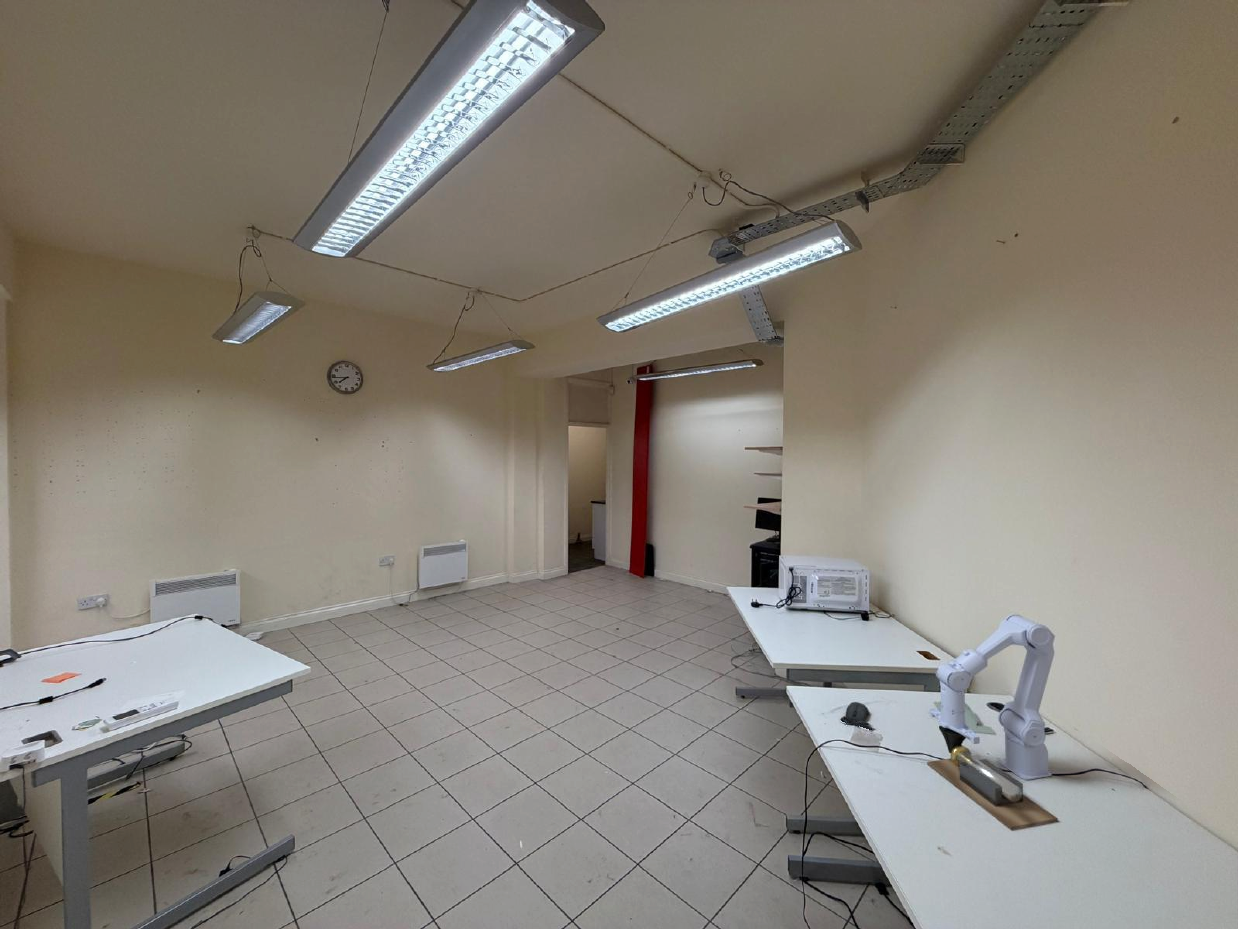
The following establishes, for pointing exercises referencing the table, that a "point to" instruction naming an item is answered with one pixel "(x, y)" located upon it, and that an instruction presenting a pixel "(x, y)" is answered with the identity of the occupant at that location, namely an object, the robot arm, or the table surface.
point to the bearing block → (987, 783)
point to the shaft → (986, 772)
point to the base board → (1006, 814)
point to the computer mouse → (857, 715)
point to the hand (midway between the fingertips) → (953, 753)
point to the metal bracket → (971, 721)
